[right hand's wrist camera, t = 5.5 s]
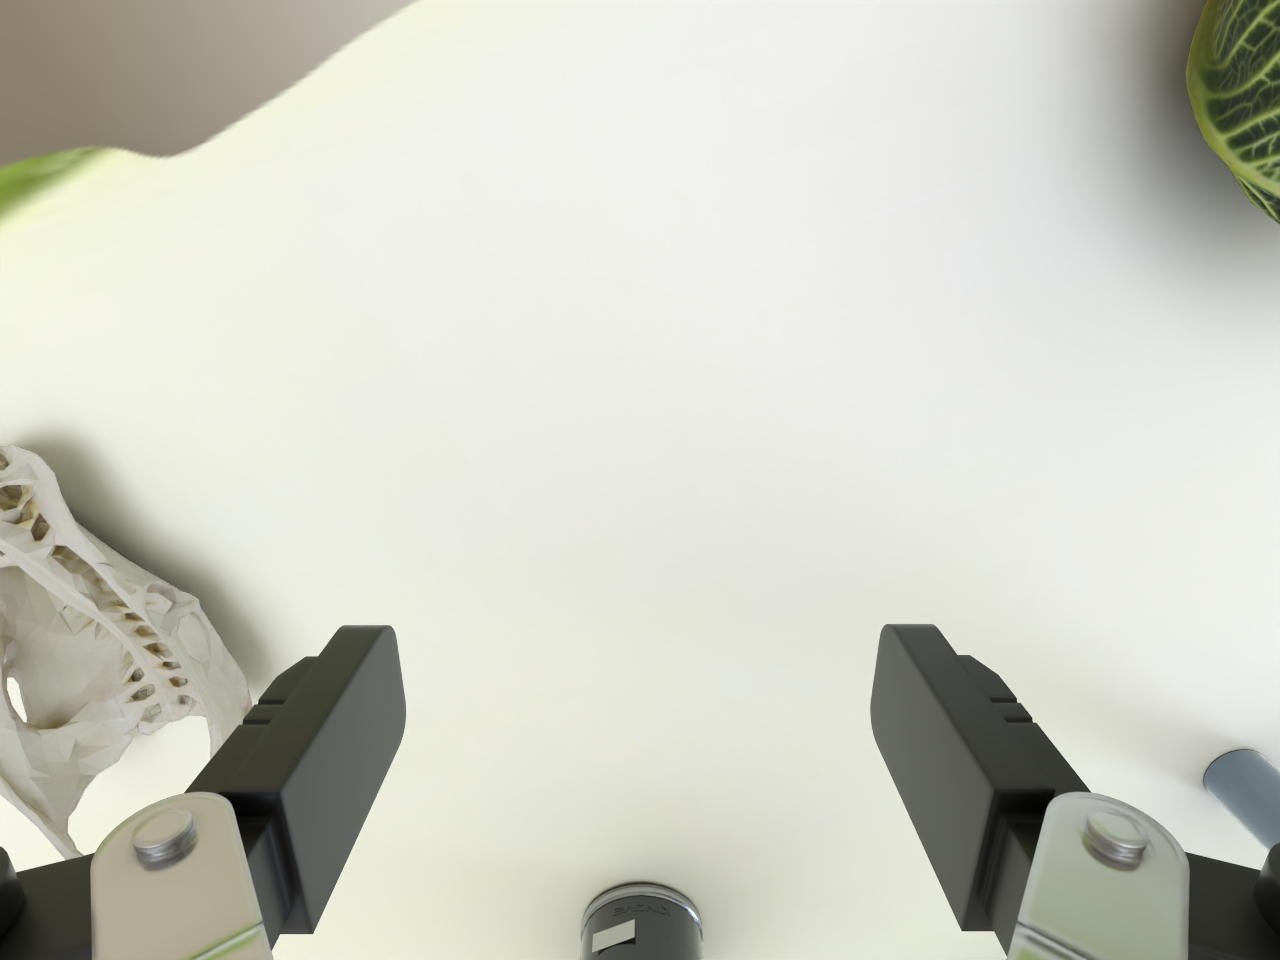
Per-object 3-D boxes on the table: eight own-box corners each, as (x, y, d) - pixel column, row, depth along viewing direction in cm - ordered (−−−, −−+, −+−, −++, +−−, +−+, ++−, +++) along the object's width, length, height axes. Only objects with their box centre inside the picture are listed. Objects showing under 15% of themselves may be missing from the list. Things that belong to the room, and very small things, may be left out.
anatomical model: (44, 901, 42) (-290, 556, 33) (144, 782, 50) (-100, 483, 41) (264, 837, 40) (-25, 457, 31) (328, 726, 48) (115, 402, 40)
